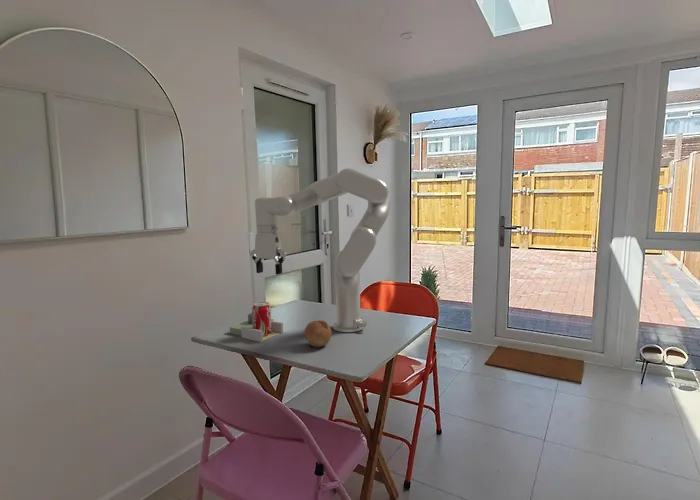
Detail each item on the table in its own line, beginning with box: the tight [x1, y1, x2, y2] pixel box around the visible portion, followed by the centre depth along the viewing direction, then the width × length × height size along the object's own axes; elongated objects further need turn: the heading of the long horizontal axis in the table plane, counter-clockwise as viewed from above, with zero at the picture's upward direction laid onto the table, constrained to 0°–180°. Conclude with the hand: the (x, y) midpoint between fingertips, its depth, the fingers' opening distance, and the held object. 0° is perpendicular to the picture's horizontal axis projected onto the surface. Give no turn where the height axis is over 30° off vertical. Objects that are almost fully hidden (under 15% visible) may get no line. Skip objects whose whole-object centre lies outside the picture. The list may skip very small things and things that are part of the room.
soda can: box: [251, 301, 272, 336], centre depth 149 cm, size 7×7×12 cm
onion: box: [303, 320, 332, 348], centre depth 137 cm, size 10×9×10 cm
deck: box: [229, 312, 284, 343], centre depth 153 cm, size 18×18×5 cm
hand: (269, 273), depth 153 cm, fingers open, 9 cm apart
